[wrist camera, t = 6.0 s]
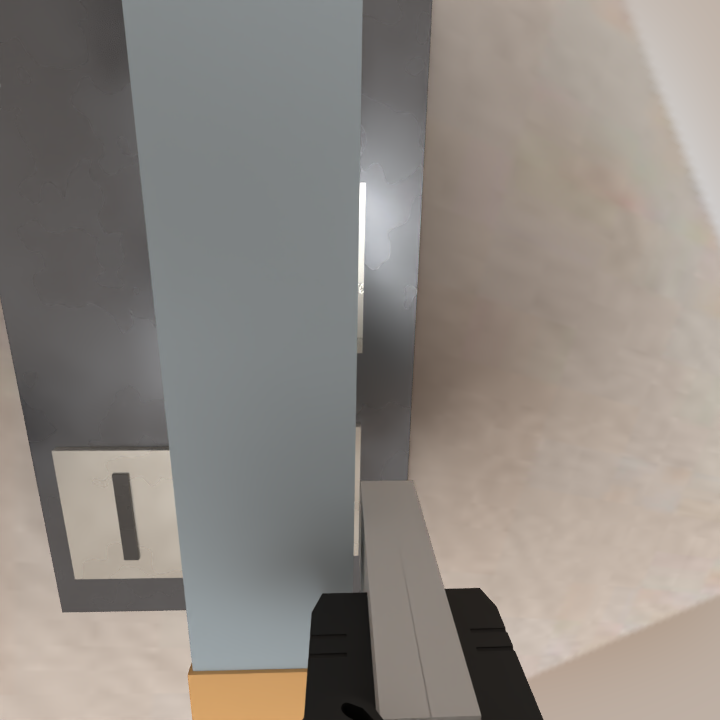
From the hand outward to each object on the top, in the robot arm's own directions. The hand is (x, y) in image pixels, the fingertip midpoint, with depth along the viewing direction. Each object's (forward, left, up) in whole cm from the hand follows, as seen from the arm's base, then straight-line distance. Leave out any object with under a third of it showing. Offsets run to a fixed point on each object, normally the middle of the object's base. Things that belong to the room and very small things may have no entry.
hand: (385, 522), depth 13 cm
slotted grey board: (-4, -6, -7) cm, 10 cm away
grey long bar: (-6, -3, 0) cm, 6 cm away
